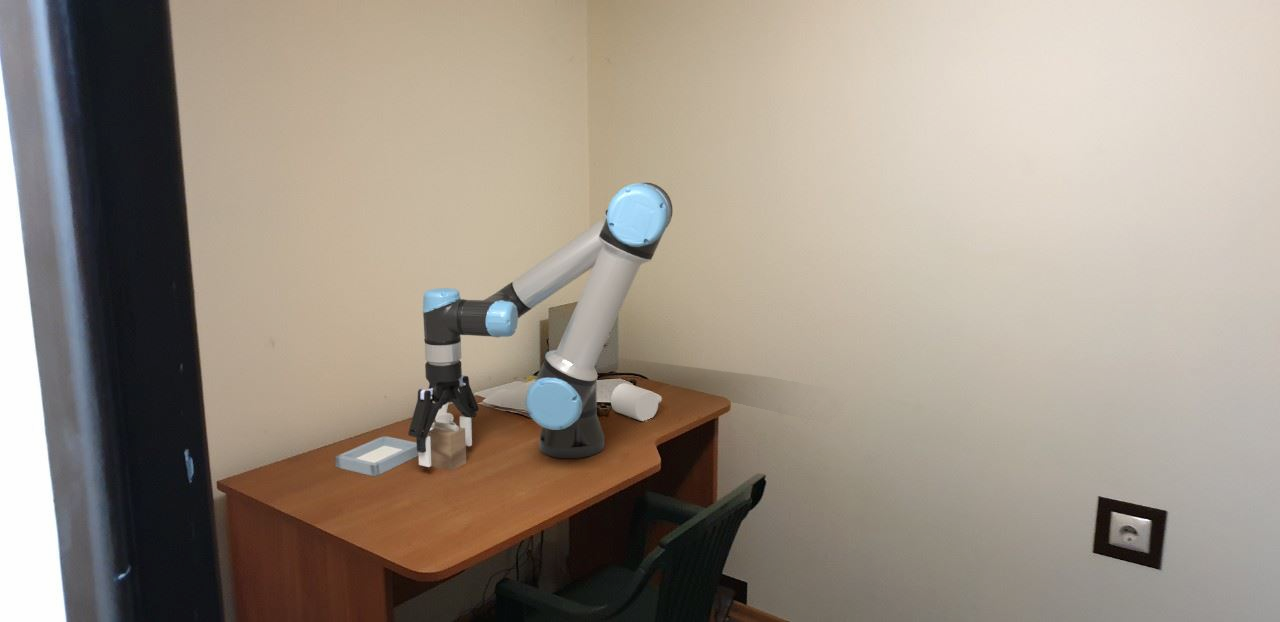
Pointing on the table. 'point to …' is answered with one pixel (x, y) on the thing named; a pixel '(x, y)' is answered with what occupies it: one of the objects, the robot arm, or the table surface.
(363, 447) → the tray
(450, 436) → the brown cardboard carton
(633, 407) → the mug
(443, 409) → the hook
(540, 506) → the table surface
